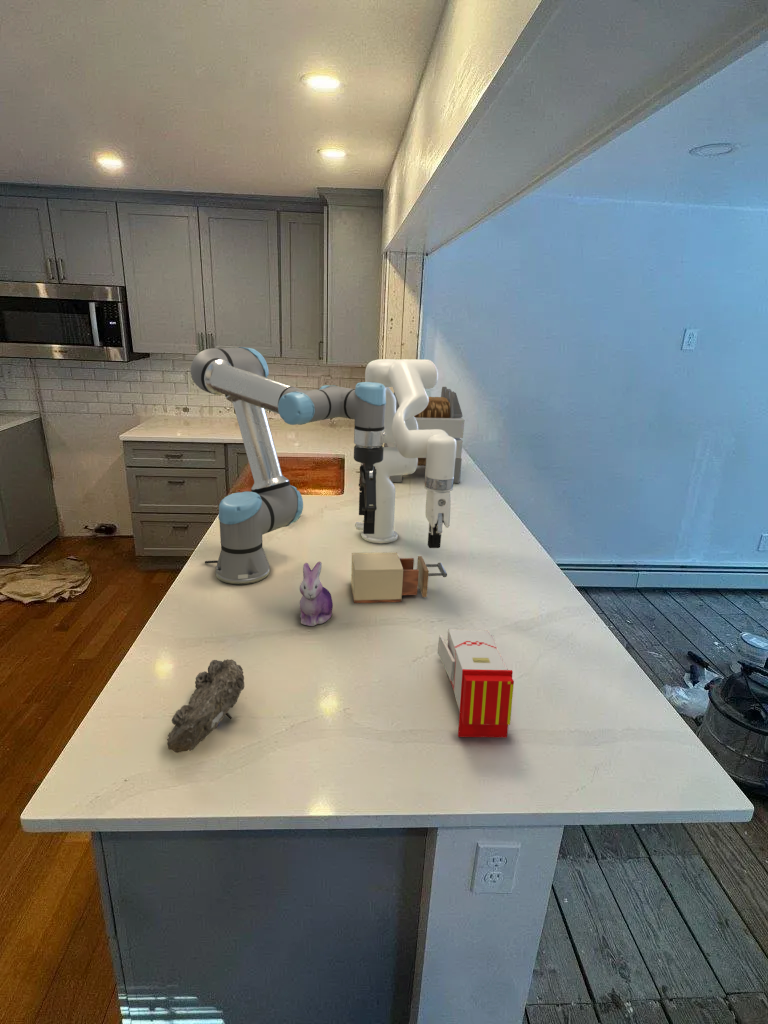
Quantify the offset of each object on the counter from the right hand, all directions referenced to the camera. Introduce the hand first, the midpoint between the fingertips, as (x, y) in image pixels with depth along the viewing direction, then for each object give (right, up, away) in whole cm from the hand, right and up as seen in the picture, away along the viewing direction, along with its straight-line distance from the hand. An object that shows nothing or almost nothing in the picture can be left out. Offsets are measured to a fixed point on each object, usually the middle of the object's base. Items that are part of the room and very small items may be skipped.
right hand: (433, 546), depth 155 cm
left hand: (-18, +6, -5) cm, 20 cm away
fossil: (-46, -30, -47) cm, 72 cm away
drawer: (-6, -12, +4) cm, 14 cm away
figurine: (-31, -17, -11) cm, 37 cm away
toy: (+4, -28, -37) cm, 46 cm away
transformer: (+4, +28, +120) cm, 123 cm away
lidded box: (-16, -13, +3) cm, 21 cm away
